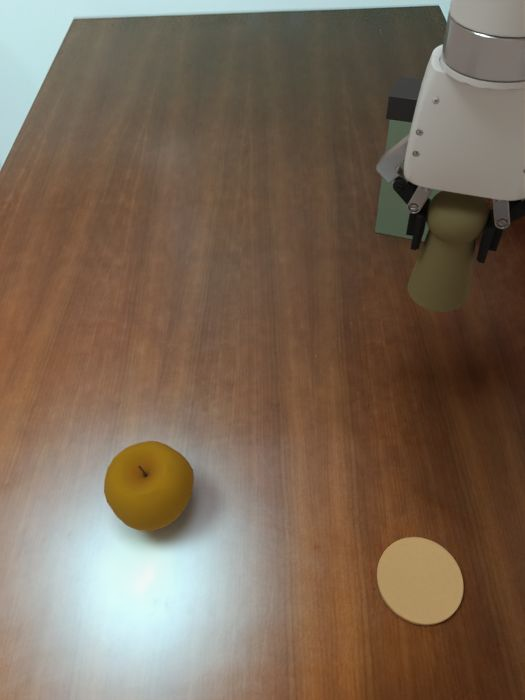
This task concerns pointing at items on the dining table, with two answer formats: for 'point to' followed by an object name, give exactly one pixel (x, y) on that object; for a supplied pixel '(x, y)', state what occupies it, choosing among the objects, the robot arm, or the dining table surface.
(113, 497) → the apple
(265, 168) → the dining table surface
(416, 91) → the green box with lid
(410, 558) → the cork mat
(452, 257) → the pepper shaker
